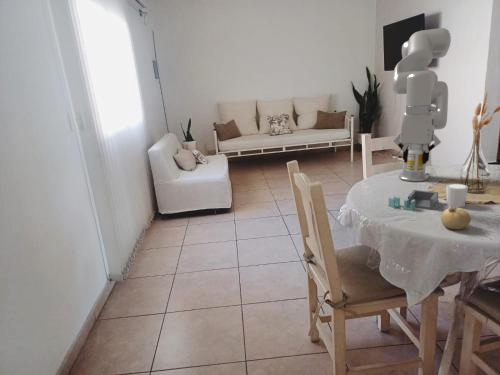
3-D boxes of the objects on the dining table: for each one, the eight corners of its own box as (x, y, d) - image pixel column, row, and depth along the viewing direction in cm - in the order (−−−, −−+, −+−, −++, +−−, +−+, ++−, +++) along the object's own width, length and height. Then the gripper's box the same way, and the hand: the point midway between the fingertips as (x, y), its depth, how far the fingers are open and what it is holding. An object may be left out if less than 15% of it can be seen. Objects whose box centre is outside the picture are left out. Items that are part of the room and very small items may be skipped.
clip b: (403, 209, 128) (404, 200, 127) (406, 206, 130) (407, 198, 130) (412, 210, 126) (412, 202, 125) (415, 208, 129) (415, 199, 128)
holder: (412, 198, 138) (413, 189, 136) (438, 201, 132) (439, 192, 131) (406, 206, 131) (406, 196, 130) (433, 209, 125) (434, 199, 124)
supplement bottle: (421, 169, 127) (424, 142, 125) (423, 172, 122) (426, 144, 120) (405, 168, 129) (407, 142, 126) (406, 172, 124) (409, 144, 121)
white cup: (464, 201, 130) (465, 183, 128) (468, 208, 124) (470, 189, 122) (443, 201, 133) (444, 183, 131) (446, 207, 127) (447, 188, 125)
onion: (445, 220, 116) (446, 200, 114) (472, 225, 111) (474, 204, 109) (436, 229, 111) (438, 207, 109) (465, 234, 106) (467, 212, 104)
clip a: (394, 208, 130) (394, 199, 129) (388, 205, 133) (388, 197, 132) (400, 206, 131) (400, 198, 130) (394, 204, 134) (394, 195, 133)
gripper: (448, 108, 117) (444, 161, 122) (395, 109, 127) (393, 158, 133) (444, 111, 111) (440, 167, 117) (388, 112, 122) (387, 163, 127)
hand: (415, 161), depth 125 cm, fingers closed on supplement bottle, 5 cm apart
